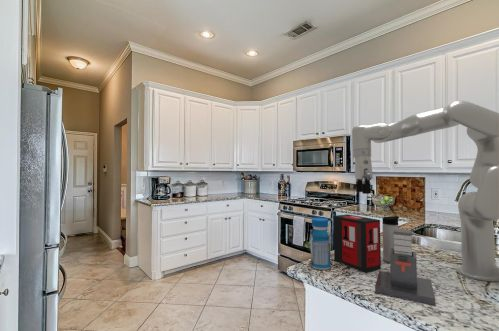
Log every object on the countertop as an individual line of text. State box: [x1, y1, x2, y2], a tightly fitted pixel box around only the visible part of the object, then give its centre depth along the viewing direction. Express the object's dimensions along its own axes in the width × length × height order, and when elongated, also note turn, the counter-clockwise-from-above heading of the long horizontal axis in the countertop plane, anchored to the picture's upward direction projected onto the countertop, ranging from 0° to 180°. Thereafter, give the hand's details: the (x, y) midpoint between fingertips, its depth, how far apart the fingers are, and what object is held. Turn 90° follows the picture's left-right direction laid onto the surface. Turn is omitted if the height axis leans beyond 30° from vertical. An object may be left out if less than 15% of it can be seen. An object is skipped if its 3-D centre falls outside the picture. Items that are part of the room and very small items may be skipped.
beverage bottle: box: [309, 217, 332, 271], centre depth 108 cm, size 8×8×20 cm
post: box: [393, 228, 413, 257], centre depth 87 cm, size 5×5×17 cm
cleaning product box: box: [333, 213, 382, 274], centre depth 110 cm, size 16×9×20 cm, turn 27°
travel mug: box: [381, 215, 400, 265], centre depth 113 cm, size 6×7×20 cm
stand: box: [374, 249, 436, 306], centre depth 86 cm, size 16×16×12 cm
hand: (363, 192), depth 112 cm, fingers open, 9 cm apart
